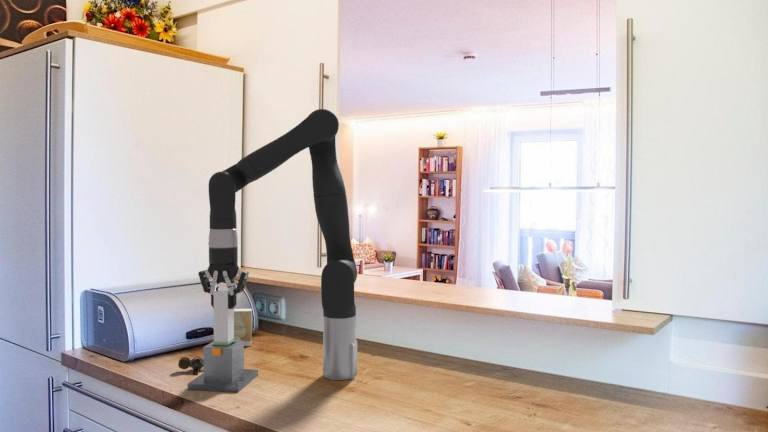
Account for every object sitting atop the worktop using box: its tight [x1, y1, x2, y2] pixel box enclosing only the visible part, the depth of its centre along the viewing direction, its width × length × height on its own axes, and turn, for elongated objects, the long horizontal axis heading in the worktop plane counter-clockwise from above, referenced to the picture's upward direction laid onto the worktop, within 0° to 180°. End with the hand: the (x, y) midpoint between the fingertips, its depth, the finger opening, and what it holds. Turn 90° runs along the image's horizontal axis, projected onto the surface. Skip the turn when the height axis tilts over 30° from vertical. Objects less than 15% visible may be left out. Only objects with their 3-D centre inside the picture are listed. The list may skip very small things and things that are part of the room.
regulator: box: [177, 356, 204, 376], centre depth 159 cm, size 8×4×15 cm
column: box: [213, 288, 235, 347], centre depth 150 cm, size 4×4×18 cm
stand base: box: [187, 340, 259, 393], centre depth 150 cm, size 14×14×10 cm
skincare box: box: [234, 308, 253, 347], centre depth 188 cm, size 6×4×12 cm
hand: (223, 307), depth 149 cm, fingers closed on column, 4 cm apart
